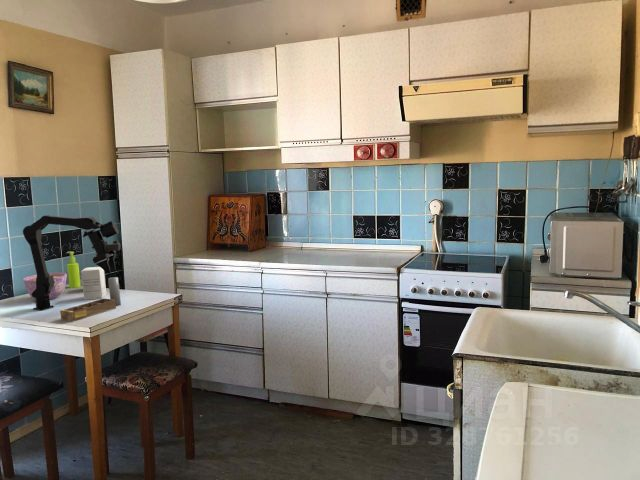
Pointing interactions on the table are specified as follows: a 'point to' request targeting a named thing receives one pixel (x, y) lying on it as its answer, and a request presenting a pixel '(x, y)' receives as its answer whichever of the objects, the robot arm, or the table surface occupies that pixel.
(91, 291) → the supplement box
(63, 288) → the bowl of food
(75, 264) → the soap dispenser
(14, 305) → the table surface
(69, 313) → the rack
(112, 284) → the plug
